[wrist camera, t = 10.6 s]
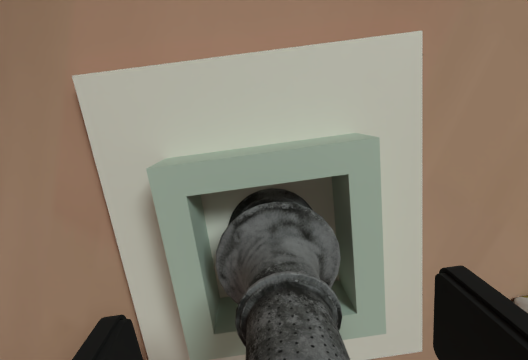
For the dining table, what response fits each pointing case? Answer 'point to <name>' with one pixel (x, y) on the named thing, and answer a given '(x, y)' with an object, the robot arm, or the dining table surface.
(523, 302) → the juice carton
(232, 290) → the chess piece
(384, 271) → the holder
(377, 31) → the dining table surface
